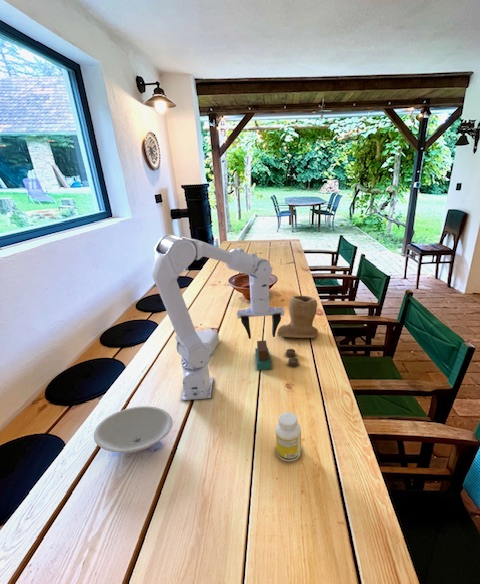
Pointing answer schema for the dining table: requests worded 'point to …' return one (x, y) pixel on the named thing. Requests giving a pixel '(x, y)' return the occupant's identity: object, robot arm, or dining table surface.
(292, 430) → the supplement bottle
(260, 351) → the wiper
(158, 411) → the dish
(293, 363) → the crumb
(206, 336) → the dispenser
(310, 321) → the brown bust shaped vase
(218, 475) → the dining table surface
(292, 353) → the crumb
